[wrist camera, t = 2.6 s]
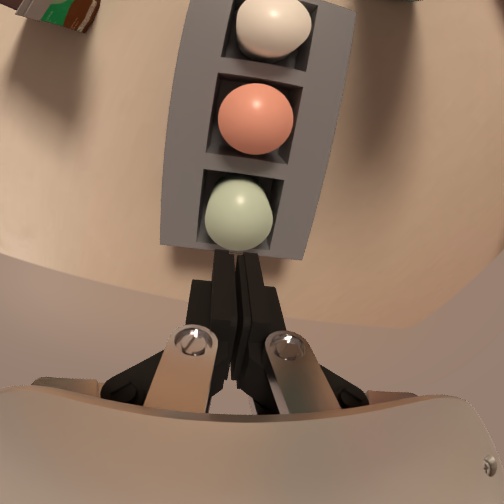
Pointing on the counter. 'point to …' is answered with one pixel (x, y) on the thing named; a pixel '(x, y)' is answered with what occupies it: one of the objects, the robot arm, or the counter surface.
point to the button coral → (255, 118)
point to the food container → (57, 11)
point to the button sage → (238, 212)
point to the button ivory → (271, 28)
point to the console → (233, 161)
